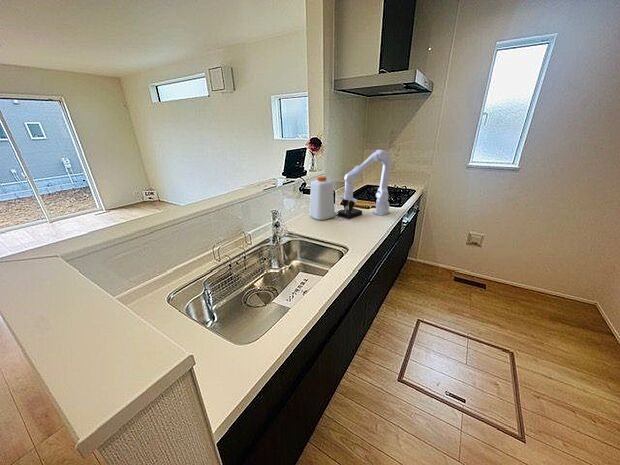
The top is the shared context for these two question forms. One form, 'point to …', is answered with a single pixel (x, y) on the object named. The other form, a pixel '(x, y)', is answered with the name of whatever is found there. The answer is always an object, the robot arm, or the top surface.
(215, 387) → the top surface
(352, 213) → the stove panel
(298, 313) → the top surface
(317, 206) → the plastic bottle
